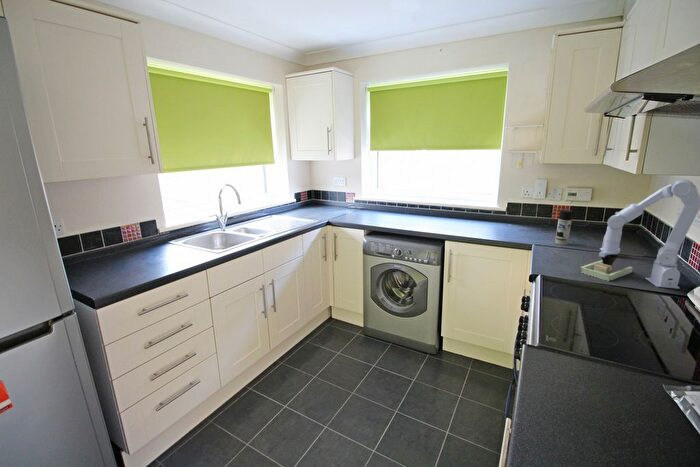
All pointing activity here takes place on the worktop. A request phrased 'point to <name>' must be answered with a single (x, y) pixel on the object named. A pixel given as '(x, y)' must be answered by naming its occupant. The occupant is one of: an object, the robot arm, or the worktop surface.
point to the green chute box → (588, 270)
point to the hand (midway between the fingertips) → (606, 269)
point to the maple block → (602, 268)
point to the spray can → (563, 227)
